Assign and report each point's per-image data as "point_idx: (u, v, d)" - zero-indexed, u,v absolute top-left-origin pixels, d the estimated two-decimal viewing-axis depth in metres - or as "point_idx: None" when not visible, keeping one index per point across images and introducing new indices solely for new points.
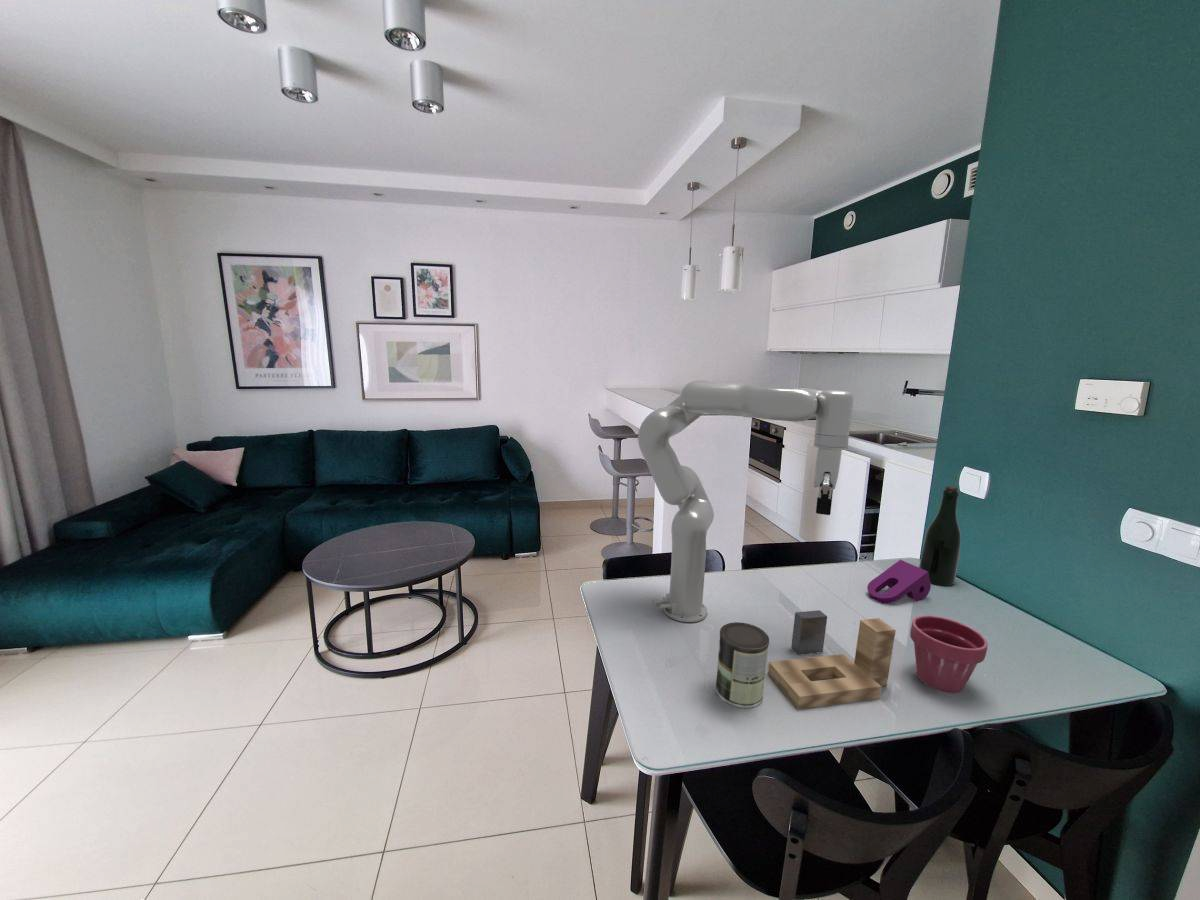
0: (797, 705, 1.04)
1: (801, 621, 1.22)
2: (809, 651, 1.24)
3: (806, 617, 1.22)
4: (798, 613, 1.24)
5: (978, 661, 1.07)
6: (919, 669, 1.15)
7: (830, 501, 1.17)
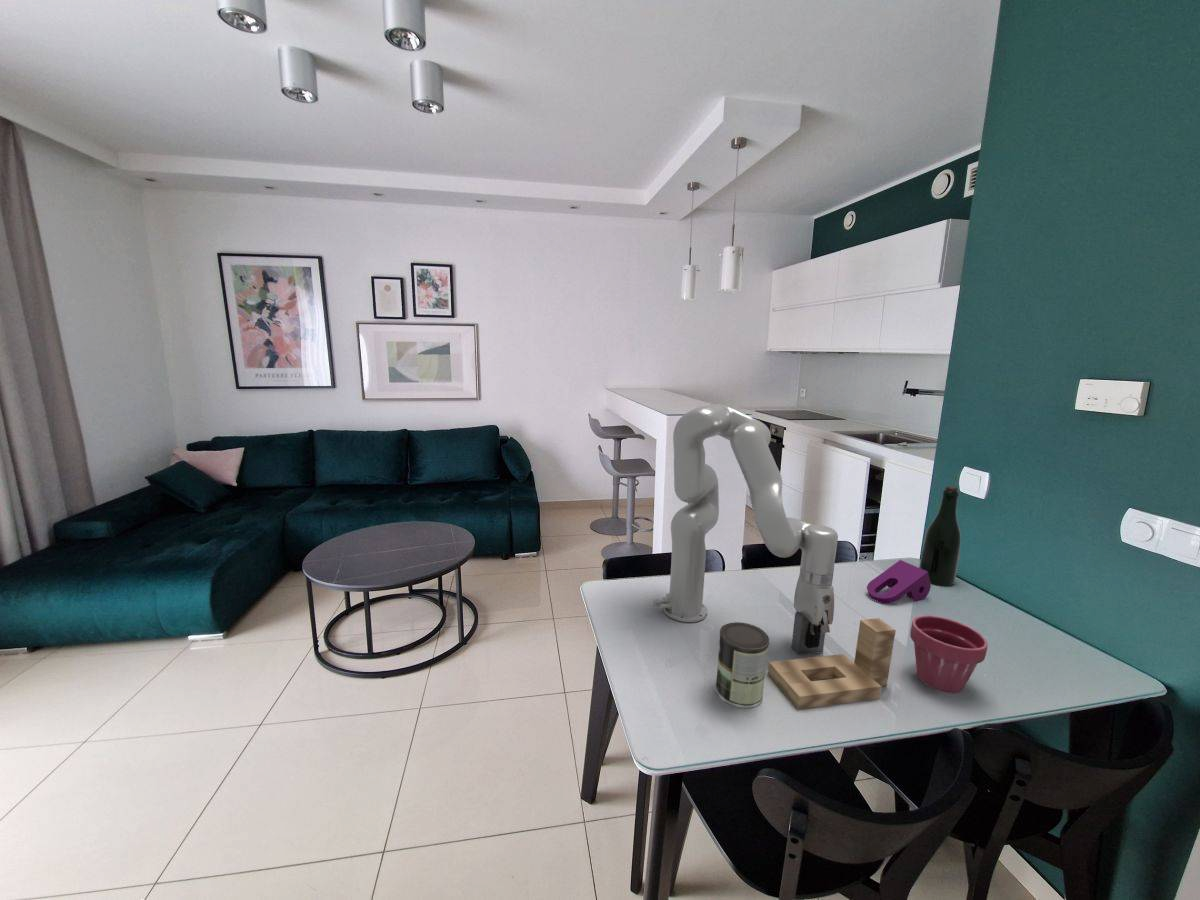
0: (797, 705, 1.04)
1: (801, 621, 1.22)
2: (809, 651, 1.24)
3: (806, 617, 1.22)
4: (798, 613, 1.24)
5: (978, 661, 1.07)
6: (919, 669, 1.15)
7: None
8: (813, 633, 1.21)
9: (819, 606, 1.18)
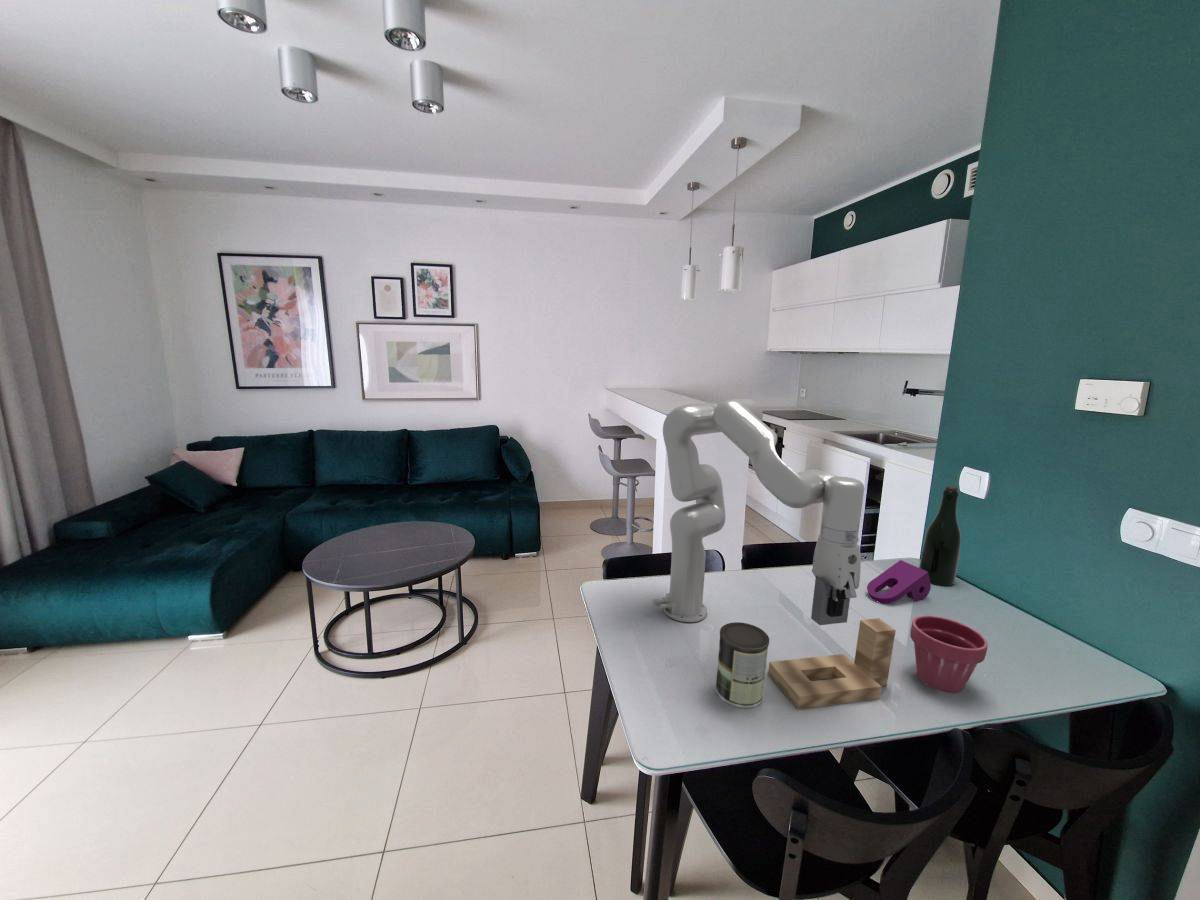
0: (797, 705, 1.04)
1: (823, 586, 1.07)
2: (832, 621, 1.09)
3: (828, 582, 1.07)
4: (819, 578, 1.09)
5: (978, 661, 1.07)
6: (919, 669, 1.15)
7: None
8: (836, 599, 1.06)
9: (844, 567, 1.03)
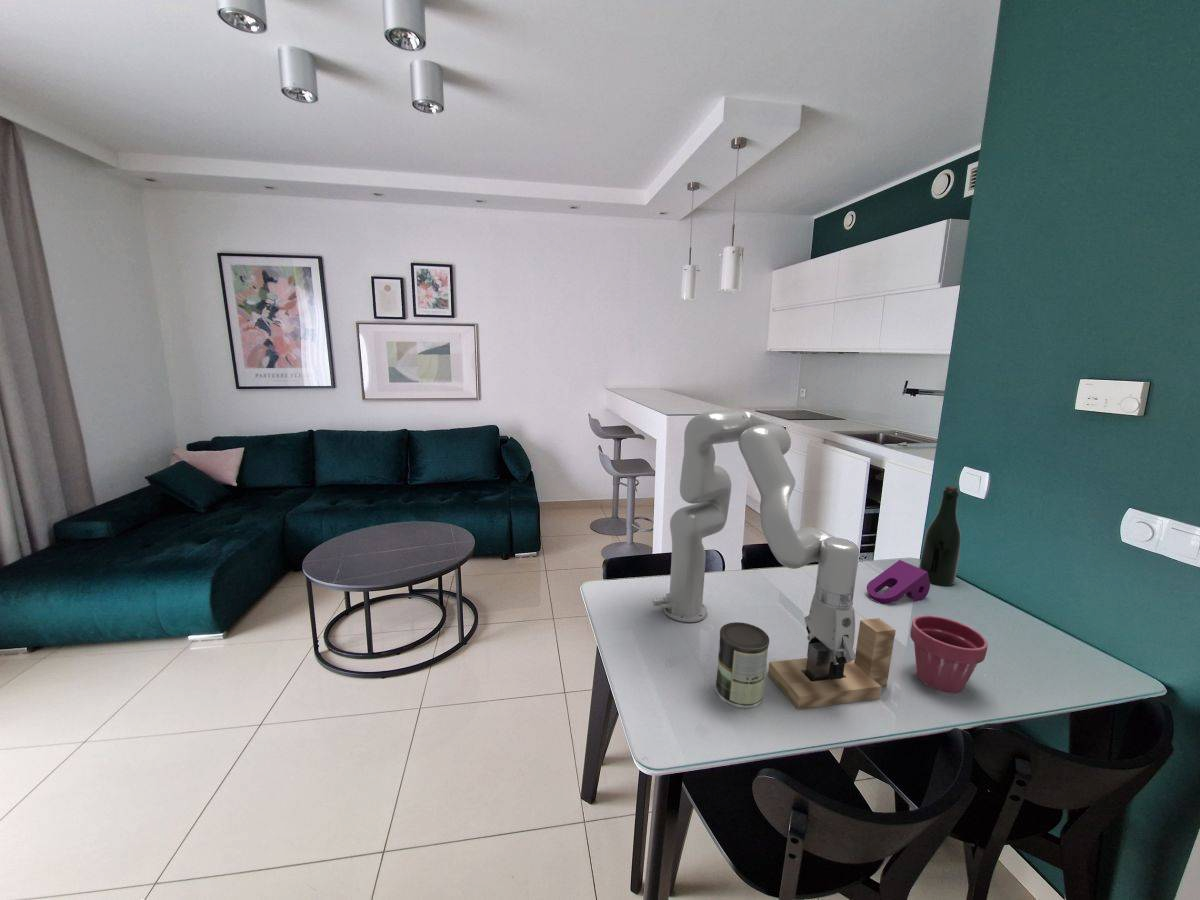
0: (797, 705, 1.04)
1: (816, 654, 1.08)
2: None
3: (821, 650, 1.08)
4: (813, 644, 1.10)
5: (978, 661, 1.07)
6: (919, 669, 1.15)
7: None
8: (837, 663, 1.05)
9: (838, 630, 1.04)
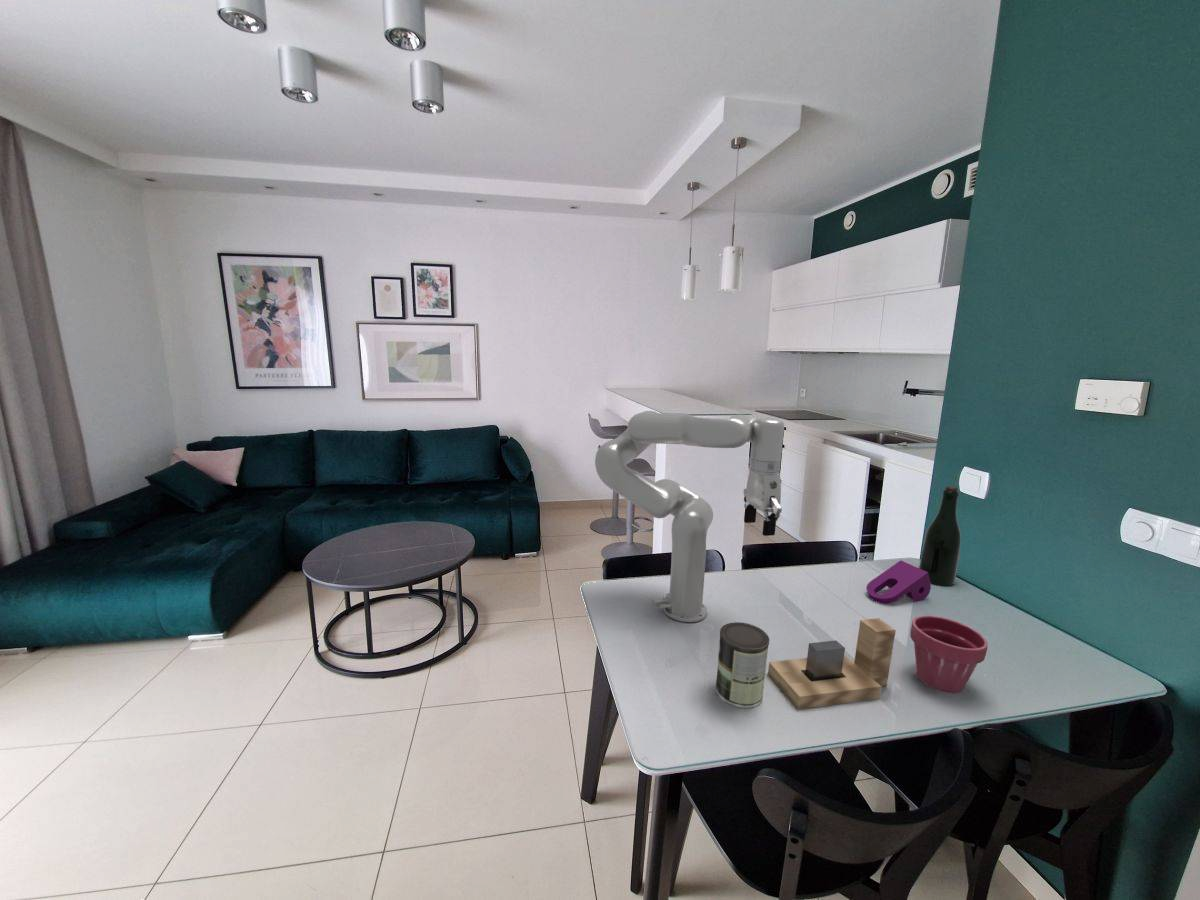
0: (797, 705, 1.04)
1: (816, 654, 1.08)
2: None
3: (821, 650, 1.08)
4: (812, 644, 1.10)
5: (978, 661, 1.07)
6: (919, 669, 1.15)
7: None
8: (768, 519, 1.24)
9: (766, 492, 1.24)
